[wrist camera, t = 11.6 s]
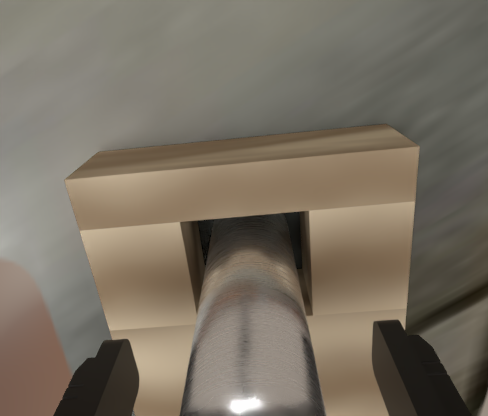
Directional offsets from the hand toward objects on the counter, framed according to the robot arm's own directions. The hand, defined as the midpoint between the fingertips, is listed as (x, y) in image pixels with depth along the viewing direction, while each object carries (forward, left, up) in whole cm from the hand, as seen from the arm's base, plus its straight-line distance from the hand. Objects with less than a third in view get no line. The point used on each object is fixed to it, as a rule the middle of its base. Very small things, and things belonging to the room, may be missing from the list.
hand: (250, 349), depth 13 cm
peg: (0, 0, -9) cm, 9 cm away
